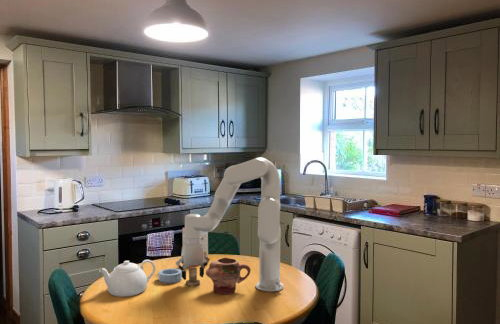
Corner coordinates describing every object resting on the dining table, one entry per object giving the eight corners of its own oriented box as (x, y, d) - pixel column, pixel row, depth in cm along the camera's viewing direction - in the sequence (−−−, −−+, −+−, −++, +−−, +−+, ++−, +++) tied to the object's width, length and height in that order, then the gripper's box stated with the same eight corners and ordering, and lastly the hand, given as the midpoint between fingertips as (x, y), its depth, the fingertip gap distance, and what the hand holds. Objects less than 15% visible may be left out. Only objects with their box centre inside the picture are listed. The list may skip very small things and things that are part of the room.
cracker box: (200, 260, 238) (200, 223, 238) (208, 262, 235) (208, 224, 234) (182, 265, 228) (181, 227, 227) (189, 268, 224) (189, 228, 223)
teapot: (137, 300, 178) (137, 268, 178) (98, 296, 182) (97, 265, 181) (156, 285, 197) (156, 256, 196) (119, 282, 200) (119, 254, 200)
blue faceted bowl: (184, 281, 202) (184, 273, 202) (162, 284, 197) (162, 276, 197) (177, 275, 211) (177, 267, 211) (156, 278, 207) (156, 270, 206)
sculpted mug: (247, 284, 198) (247, 255, 197) (253, 294, 186) (253, 262, 185) (204, 287, 194) (204, 257, 193) (207, 297, 182) (207, 265, 181)
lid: (201, 284, 198) (201, 269, 197) (188, 287, 195) (188, 271, 194) (197, 280, 203) (197, 266, 203) (184, 282, 200) (184, 267, 200)
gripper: (207, 237, 205) (207, 273, 206) (172, 240, 197) (172, 278, 198) (213, 240, 199) (213, 277, 199) (177, 244, 191) (177, 282, 192)
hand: (192, 277), depth 199 cm, fingers open, 7 cm apart
